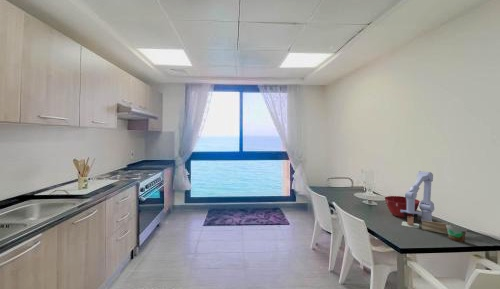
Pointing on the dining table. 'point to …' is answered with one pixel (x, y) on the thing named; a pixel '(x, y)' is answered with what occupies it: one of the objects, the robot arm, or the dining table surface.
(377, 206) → the dining table surface
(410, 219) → the block
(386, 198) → the mixing bowl
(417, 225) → the mat
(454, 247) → the dining table surface
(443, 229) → the crate
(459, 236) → the food container
